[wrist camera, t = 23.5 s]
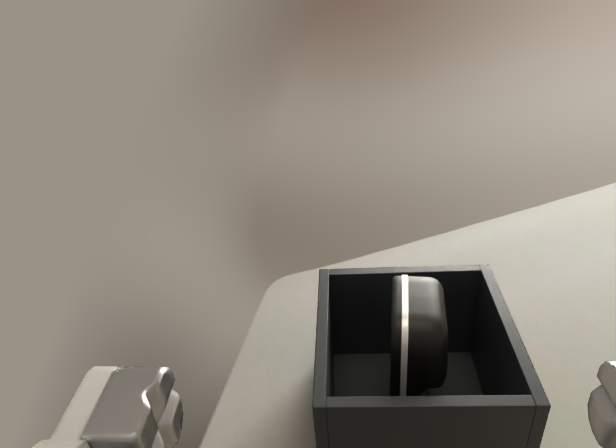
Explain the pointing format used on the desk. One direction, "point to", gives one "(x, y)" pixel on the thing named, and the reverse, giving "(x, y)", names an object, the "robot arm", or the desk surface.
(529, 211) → the desk surface
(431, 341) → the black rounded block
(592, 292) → the desk surface
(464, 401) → the trash bin
